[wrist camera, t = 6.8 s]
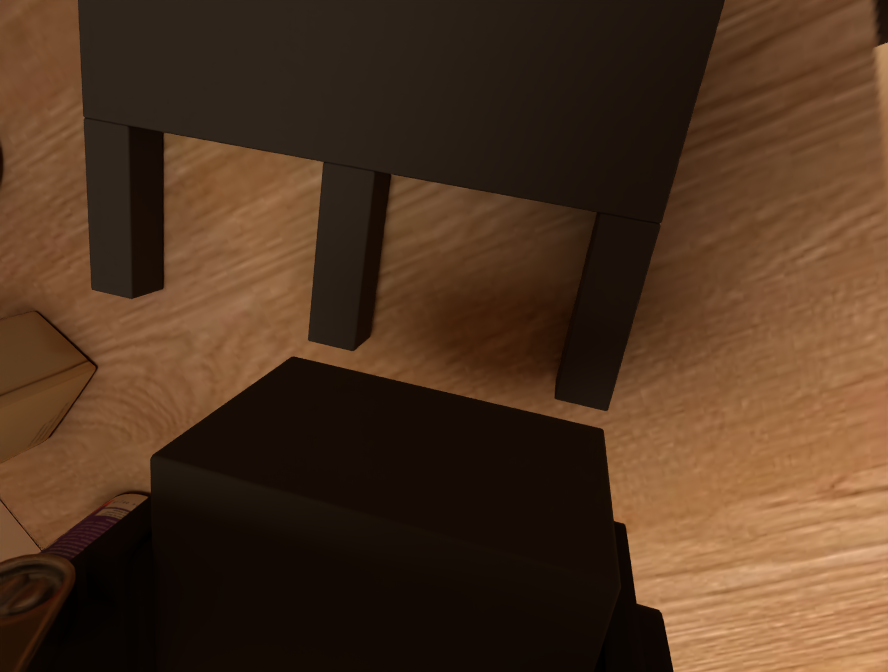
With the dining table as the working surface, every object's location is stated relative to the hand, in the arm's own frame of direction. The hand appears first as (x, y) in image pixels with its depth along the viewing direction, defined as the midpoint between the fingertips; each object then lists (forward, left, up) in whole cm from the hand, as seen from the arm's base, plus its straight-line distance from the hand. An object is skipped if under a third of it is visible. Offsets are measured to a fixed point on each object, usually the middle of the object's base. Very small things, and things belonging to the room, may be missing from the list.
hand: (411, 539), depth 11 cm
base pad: (+6, -6, -13) cm, 16 cm away
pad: (0, 0, -1) cm, 1 cm away
